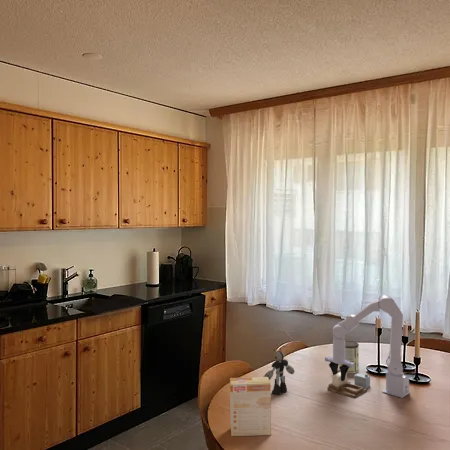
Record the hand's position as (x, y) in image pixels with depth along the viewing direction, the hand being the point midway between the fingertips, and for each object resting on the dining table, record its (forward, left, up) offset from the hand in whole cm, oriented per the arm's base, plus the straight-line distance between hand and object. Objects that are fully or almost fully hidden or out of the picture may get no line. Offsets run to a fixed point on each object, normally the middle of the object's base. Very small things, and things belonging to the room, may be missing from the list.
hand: (339, 379), depth 210 cm
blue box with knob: (-6, -10, -4) cm, 12 cm away
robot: (+16, +24, -4) cm, 29 cm away
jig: (-4, 0, -4) cm, 6 cm away
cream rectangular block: (0, 0, -2) cm, 2 cm away
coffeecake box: (-1, +61, -4) cm, 61 cm away
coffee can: (+10, -25, -4) cm, 27 cm away
